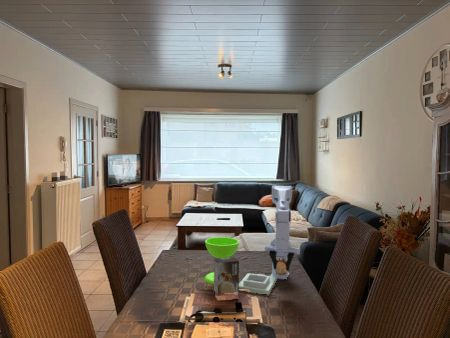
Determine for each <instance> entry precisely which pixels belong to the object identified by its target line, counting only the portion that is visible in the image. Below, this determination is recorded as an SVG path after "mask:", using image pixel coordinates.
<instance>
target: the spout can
mask: <svg viewBox="0 0 450 338" xmlns="http://www.w3.org/2000/svg"><path fill="white" fill-rule="evenodd" d="M287 273H288V271H287V260H285V258H279V259H277V260H276V274H277V275H287Z"/></svg>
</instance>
